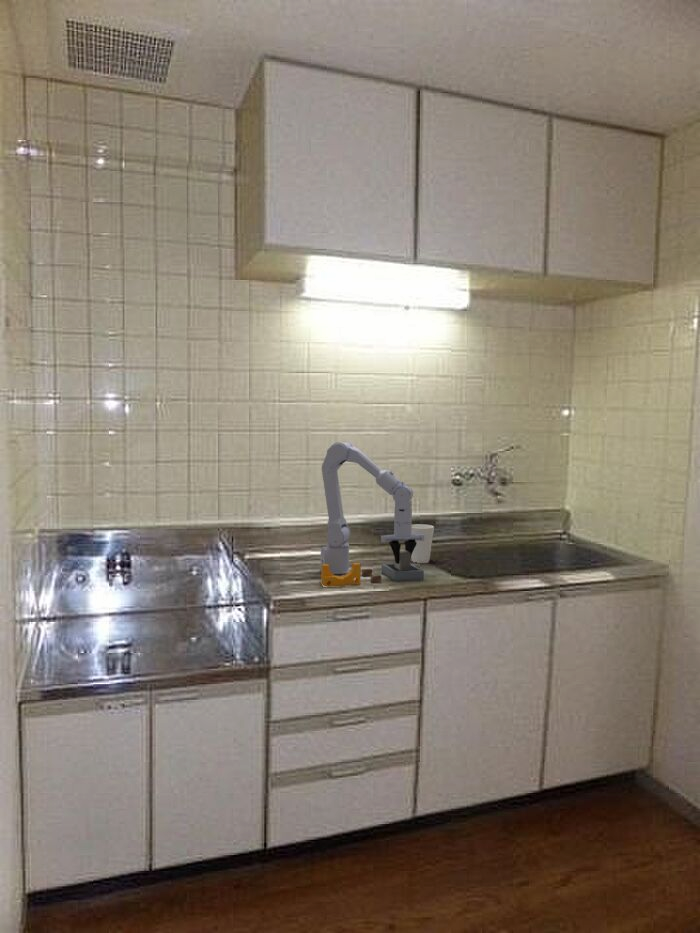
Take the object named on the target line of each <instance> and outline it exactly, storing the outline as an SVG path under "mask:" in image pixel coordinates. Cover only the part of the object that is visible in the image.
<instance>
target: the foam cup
mask: <svg viewBox="0 0 700 933" xmlns="http://www.w3.org/2000/svg"><path fill="white" fill-rule="evenodd" d="M434 533H435V527H434V526H433V525H431V524H421V523H420V524H412V533H411V534H423V535H424V541H421V540H418V541H415V542H417V544H416V547H415V548H414V550H413V552H412V555H411V559H410V560H411V562H412V561H413V562H412V563H415V562H417V563H416V564H427V563H429V562H430V558H431V551H432V544H433V537H434Z"/></svg>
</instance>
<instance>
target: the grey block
mask: <svg viewBox="0 0 700 933" xmlns="http://www.w3.org/2000/svg"><path fill="white" fill-rule="evenodd" d="M410 556H411V553H410V552H408V551H406V550H405V548H400V561H399V564H397V563H395V557H393V558H394V560H393V561H394V567H395V568H397V569H399V570H400V571H410V563H411V559H410Z"/></svg>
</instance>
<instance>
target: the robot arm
mask: <svg viewBox="0 0 700 933" xmlns="http://www.w3.org/2000/svg"><path fill="white" fill-rule="evenodd" d="M346 462H348V463H355V464H357V465H359V466H360V467H361V468H362V469H364V470H365V471H366V472H368V473H369V474H371V476H373V477H374V478H375V483H376V484H377V485H378V486H379V487H380V488H381V489H383V490H384V491H385V492H386V493H387V494H388V495H389V496H392V499H393V500H394V516H393V517H394V520H393V522H394V525H393V527H394V529H393V534H387V535H385V534H384V535H380V542H381V543H387V542H388V543H389V544H388V545H389V546H390V549H391V551H392V553H393V558H395V563H397V564H399V561H400V549H401V547H402V546H401V543H400V542H404V547H405V548H404V550H406V551H408V552H410V553H411V555H412V552H413V550H414V548H415V547H416V544H417V542H415V541H418V540H421V541H424V535H423V534H411V533H412V525H413V523H412V522H413V517H412V515H413V513H412V512H413V508H412V504H413V503H412V499H413V497H414V491H413V489H412V488H411V486H410V485H409V484H405V481H403V480H402V481H401V480H400V479H399V478H398V477H396V476H395V475H394V473H395V472H393V471H392V470H390V471H389V470H388V469H384V470H383V469H381V468H380V467H379V466H378V465H377V464H375V463H374V461H372V459H370V458H369V457H368V456H367V455H366V454H365V453H363V452H362V451H361V450H360V449H359V448H357V447H356V446H354V445H353V444H352V443H351V442H349V441H342V442H339V441H337V442H334V443H333V444H331V445H330V447H329V448H327V450H326V455H325V456H324V460H323V462H322V465H321V474H322V480H323V488H324V494H325V495H324V496H325V502H326V507H327V508H326V509H327V516H328V520H327V524H326V526H327V532H326V535H325V537H326V538H325V539H326V542H327V546H322V547H320V565H321V564H328V565H329V568H330V571H331V573H332V574H333V575H346V574H347V573H348V572H349V571H350V570H351V569H350V544H349V542H348V541H349V540H350V538H351V536H352V535H351V534H352V532H351V529H350V528H349V526H348V524H347V520H346V518H345V515H344V510H343V502H342V495H341V489H340V488H341V487H340V481H339V475H338V470H339V469H340V468H341V467H342V466H343V465H344V464H345V463H346ZM410 560H412V559H411V556H410ZM319 570H320V571H321V568H319Z"/></svg>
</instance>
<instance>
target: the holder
mask: <svg viewBox="0 0 700 933" xmlns="http://www.w3.org/2000/svg"><path fill="white" fill-rule="evenodd" d="M361 576H362V577H370V582H371V583H372V584H374V583H375V584H377V583H378V582H379V583H382V575H380V574H379V575H378V574H377V575H373V569H372V568H364V569H363V568H362V569H361Z"/></svg>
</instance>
